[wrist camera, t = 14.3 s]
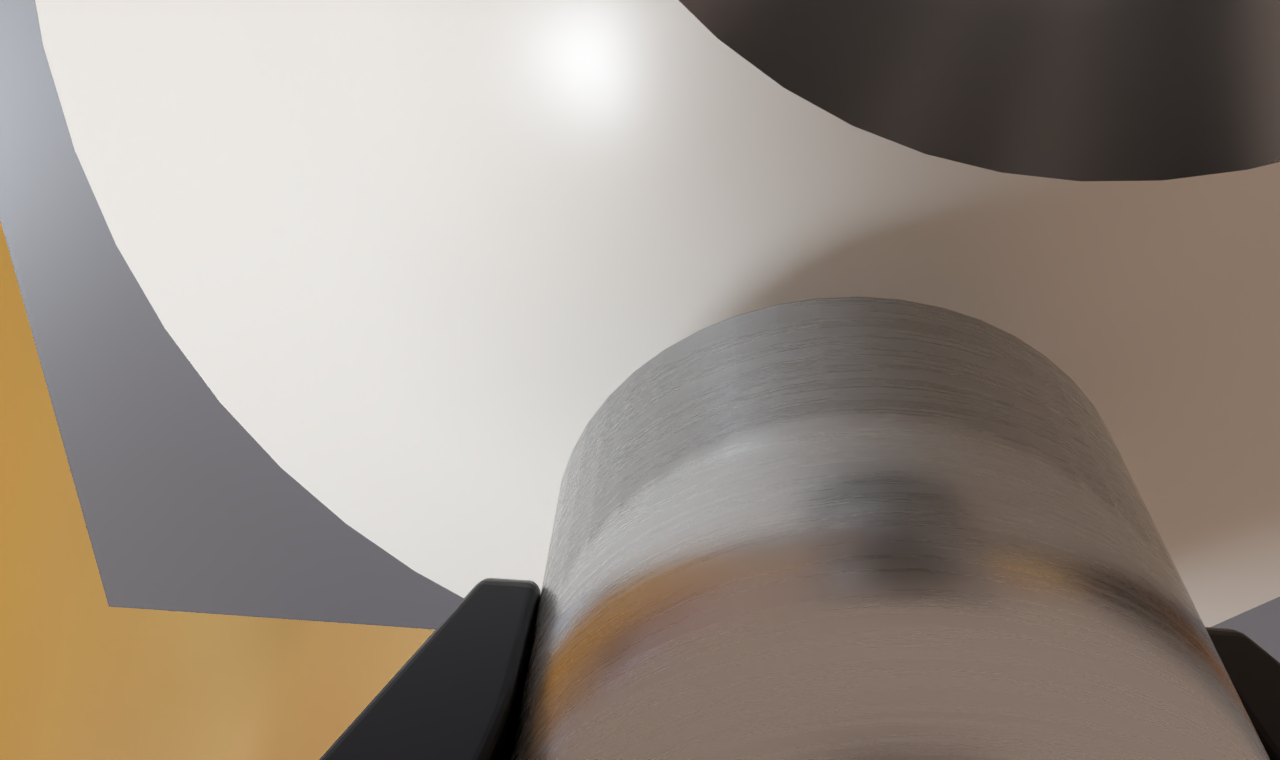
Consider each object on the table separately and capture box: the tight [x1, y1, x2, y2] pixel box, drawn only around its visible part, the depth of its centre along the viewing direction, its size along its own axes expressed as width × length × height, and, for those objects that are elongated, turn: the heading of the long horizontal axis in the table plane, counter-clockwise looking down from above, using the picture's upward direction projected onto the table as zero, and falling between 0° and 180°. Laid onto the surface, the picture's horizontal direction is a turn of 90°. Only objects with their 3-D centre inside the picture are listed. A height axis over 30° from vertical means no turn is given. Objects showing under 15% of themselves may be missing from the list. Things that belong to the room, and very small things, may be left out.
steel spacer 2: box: [511, 297, 1270, 760], centre depth 8 cm, size 4×4×4 cm
